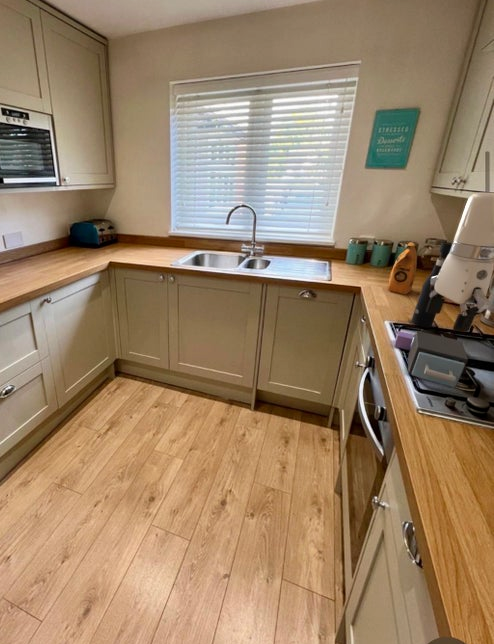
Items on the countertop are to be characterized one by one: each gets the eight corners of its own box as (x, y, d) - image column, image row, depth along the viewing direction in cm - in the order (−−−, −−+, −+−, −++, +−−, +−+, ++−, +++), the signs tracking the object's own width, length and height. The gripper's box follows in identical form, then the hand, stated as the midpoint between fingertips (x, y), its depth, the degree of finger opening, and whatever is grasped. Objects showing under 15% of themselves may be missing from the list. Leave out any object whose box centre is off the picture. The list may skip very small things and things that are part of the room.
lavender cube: (409, 350, 103) (412, 339, 101) (394, 346, 105) (397, 335, 103) (408, 345, 106) (412, 334, 105) (394, 341, 108) (398, 330, 107)
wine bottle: (434, 325, 121) (464, 244, 109) (427, 329, 118) (456, 246, 106) (415, 318, 126) (441, 240, 114) (407, 322, 122) (434, 242, 111)
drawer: (457, 397, 80) (467, 374, 78) (412, 384, 85) (420, 361, 82) (450, 368, 92) (459, 347, 90) (411, 358, 97) (418, 337, 94)
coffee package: (383, 290, 155) (396, 244, 147) (388, 284, 164) (401, 240, 155) (408, 295, 149) (423, 247, 141) (412, 289, 158) (426, 243, 150)
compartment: (456, 387, 86) (468, 359, 82) (408, 374, 91) (417, 347, 87) (451, 367, 95) (461, 341, 91) (407, 356, 100) (416, 330, 96)
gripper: (524, 262, 65) (490, 339, 71) (460, 243, 81) (437, 308, 87) (485, 261, 65) (455, 337, 72) (429, 242, 81) (408, 306, 88)
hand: (445, 321), depth 79 cm, fingers open, 9 cm apart
